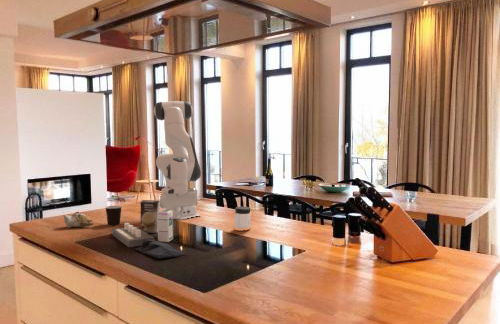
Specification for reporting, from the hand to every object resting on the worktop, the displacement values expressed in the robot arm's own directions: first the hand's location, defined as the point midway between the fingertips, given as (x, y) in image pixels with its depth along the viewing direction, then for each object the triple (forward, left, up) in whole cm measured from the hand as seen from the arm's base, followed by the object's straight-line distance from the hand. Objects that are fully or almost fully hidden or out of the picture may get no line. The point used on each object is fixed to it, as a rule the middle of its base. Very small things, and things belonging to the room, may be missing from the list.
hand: (179, 215), depth 215 cm
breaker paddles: (+25, 0, -6) cm, 25 cm away
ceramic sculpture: (+41, -40, -10) cm, 58 cm away
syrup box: (+12, +10, -9) cm, 18 cm away
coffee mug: (+23, -37, -9) cm, 44 cm away
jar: (-32, +11, -9) cm, 35 cm away
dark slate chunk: (+21, +27, -10) cm, 36 cm away
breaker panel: (+25, 0, -9) cm, 26 cm away
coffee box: (+12, -11, -9) cm, 19 cm away
